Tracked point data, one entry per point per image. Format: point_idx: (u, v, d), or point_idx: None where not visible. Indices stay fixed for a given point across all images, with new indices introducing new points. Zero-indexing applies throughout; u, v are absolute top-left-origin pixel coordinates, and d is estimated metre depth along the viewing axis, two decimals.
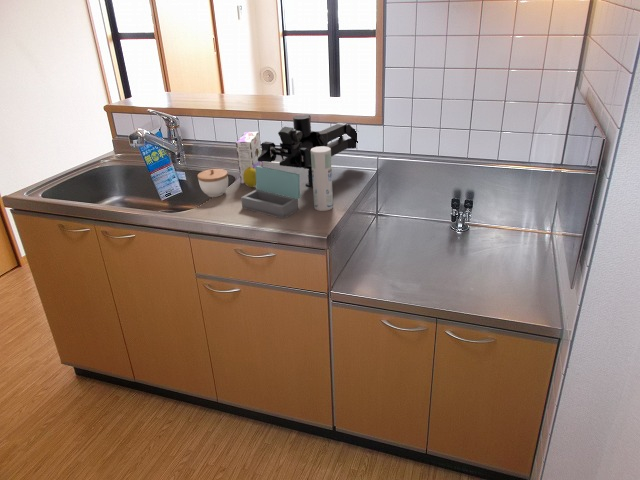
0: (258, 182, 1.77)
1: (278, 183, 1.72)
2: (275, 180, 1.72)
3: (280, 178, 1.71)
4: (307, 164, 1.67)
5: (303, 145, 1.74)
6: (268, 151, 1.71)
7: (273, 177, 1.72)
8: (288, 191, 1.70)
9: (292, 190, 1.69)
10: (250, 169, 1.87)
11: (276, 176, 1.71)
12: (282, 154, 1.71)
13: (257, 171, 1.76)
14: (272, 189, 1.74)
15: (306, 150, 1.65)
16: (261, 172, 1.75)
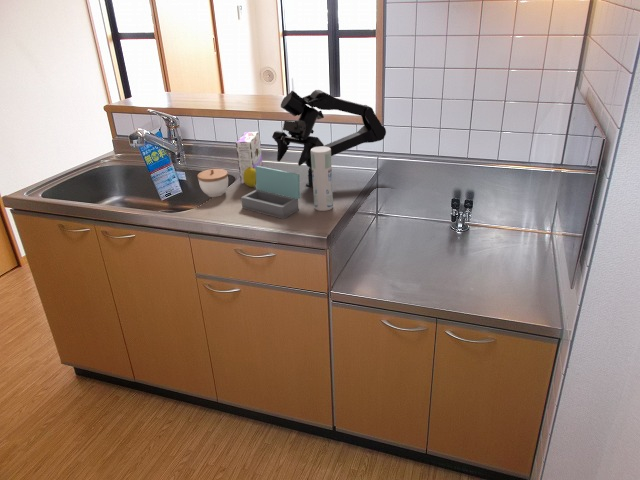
0: (258, 182, 1.77)
1: (278, 183, 1.72)
2: (275, 180, 1.72)
3: (280, 178, 1.71)
4: None
5: (309, 122, 1.76)
6: (282, 144, 1.78)
7: (273, 177, 1.72)
8: (288, 191, 1.70)
9: (292, 190, 1.69)
10: (250, 169, 1.87)
11: (276, 176, 1.71)
12: (295, 142, 1.77)
13: (257, 171, 1.76)
14: (272, 189, 1.74)
15: (316, 141, 1.70)
16: (261, 172, 1.75)
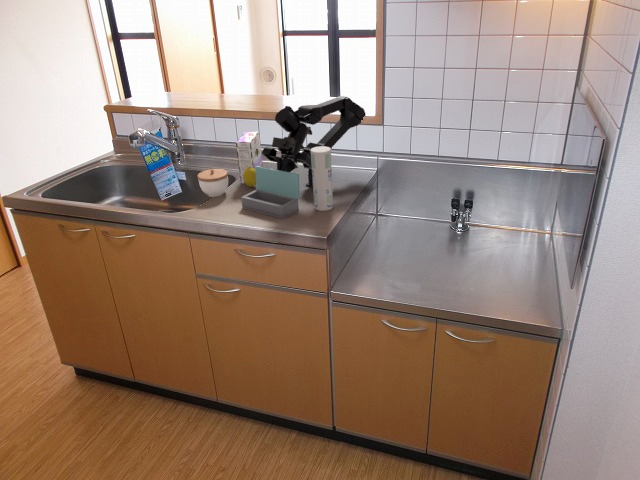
0: (258, 182, 1.77)
1: (278, 183, 1.72)
2: (275, 180, 1.72)
3: (279, 178, 1.71)
4: None
5: (299, 138, 1.73)
6: (281, 162, 1.73)
7: (273, 177, 1.72)
8: (288, 191, 1.70)
9: (292, 190, 1.69)
10: (250, 169, 1.87)
11: (276, 176, 1.71)
12: None
13: (257, 171, 1.76)
14: (272, 189, 1.74)
15: (305, 158, 1.67)
16: (261, 172, 1.75)
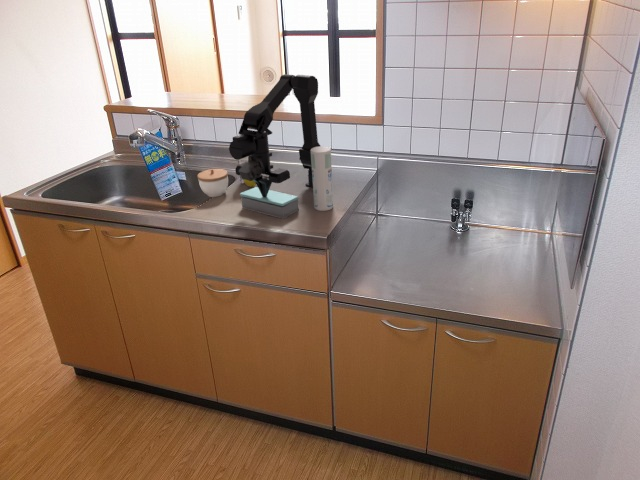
0: None
1: None
2: None
3: None
4: (288, 176, 1.62)
5: (262, 153, 1.60)
6: (259, 180, 1.66)
7: None
8: None
9: None
10: None
11: None
12: None
13: None
14: None
15: (278, 180, 1.58)
16: None
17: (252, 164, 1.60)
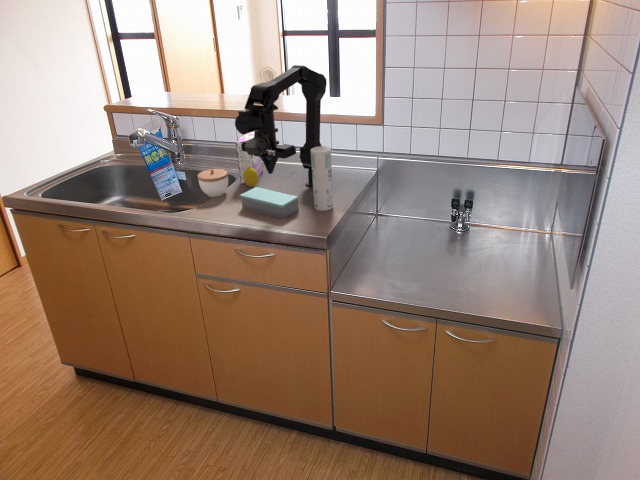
0: None
1: None
2: None
3: None
4: (294, 151, 1.61)
5: (268, 129, 1.59)
6: (265, 157, 1.66)
7: None
8: None
9: None
10: (250, 169, 1.87)
11: None
12: None
13: None
14: None
15: (285, 155, 1.58)
16: None
17: (258, 139, 1.59)
